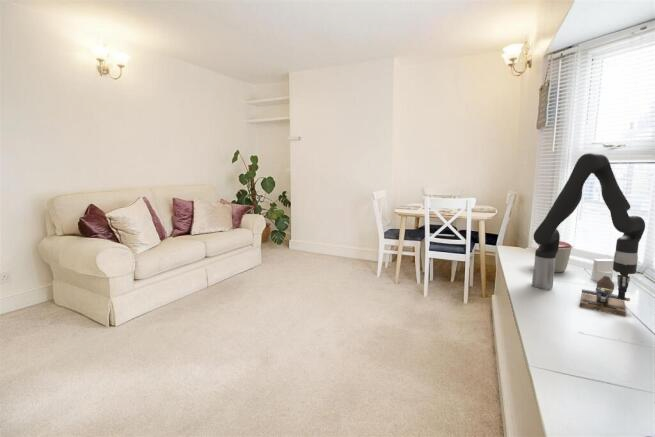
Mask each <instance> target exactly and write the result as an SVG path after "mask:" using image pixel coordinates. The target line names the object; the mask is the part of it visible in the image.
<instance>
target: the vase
mask: <svg viewBox="0 0 655 437" xmlns="http://www.w3.org/2000/svg"><path fill="white" fill-rule="evenodd" d="M598 287H600V288H606V289H609V290H612V291H611V294H612V293H613V292H614V289H615V284H614V282H613V280H612V281H611V279H610V277H608V276H603V278H601V279H600V280H599V281H598V282H597V281H596V288H598Z"/></svg>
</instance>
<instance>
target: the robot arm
mask: <svg viewBox="0 0 655 437" xmlns="http://www.w3.org/2000/svg"><path fill="white" fill-rule="evenodd" d="M574 164H575V165H574V166H573V169H572V171H571V173H570V175H569V177H568V179H567V180H566V182H565V185H564V186H563V188H562V190H561V192H560V193H559V194H558V195H557V198H556V199H555V201H554V202H553V204H552V205H551V208H550V209H549V211H548V213H547V214H546V216H545V218H544V219H542V222H541V223H540V224H539V226H538V227H537V228H536V230H535V231H534V233H533V240H534V242H535V243H536V244H537V245H538V244H539V245H540V246H539V245H538V248H537V249H535V252H534V253H535V254H534V263H533V264H534V266H533V271H532V279H531V280H532V283H531V286H532V287H535V288H537V289H542V290H551V289H553V287H554V280H555V279H554V278H555V277H554V276H555V272H554V268H555V258H556V253H557V252H558V247H559V241H561V240H560V239H561V238H560V237H561V235H560V231H559V230H558V229H557V228H558V227H559V226H560V225H561V224H562V223H563V222H564V221H565V220H566V219H567V218H568V217H570V216H571V215H572V214H573V213H574V211H575V210H576V209H577V208H578V206H579V204H580V202H581V200H582V197H583V188H584V186H585V184H586V181H587V180H588V178H589V177H590V176H591V174H593V175H594V176H595V177H596V179H597V180H598V182H599V184H600V189H601V190H600V191H601V197H602V200H603V201H604V204H605V205H606V207H607V208H608V210H609V212H610V213H609V214H610V218H611V222H612V225H613V227H614V228H615V229H616V230H617V232H620V233H622V236H620V237H618V238H617V239H616V245H615V252H614V255H613V260H614V263H613V272H615V273H619V274H617V276H616V277H617V278H616V279H617V284H616V285H617V290H618V294H617V295H618V299H621V300H622V301H623V300H624V299H625V297H626V293H627V292H628V288H629V284H630V281H631V277H630V275H635V274H637V268H638V262H639V261H638V260H639V256H638V255H639V254H638V253H639V246H640V241H641V239H642V237H643V234H644V232H645V230H646V229H645V228H646V222H645V220H644V219H643V218H642V217H641V216H639V215H629V213H628V211H629V210H630V209H631V205H630V203H629V201H628V199H627V198H626V196H625V194H624V193H623V191H622V189H621V188H620V185H619V183H618V181H617V179H616V177H615V174H614V171H613V169H612V165H611V163H610V161H609V159H608V157H607V156H606V155H605V154H602V153H596V152H595V153H593V152H591V153H589V152H587V153H584V154H582V155H581V156H579V157H578V159H577V161H576V163H574ZM618 299H617V300H618Z"/></svg>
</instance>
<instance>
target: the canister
mask: <svg viewBox="0 0 655 437" xmlns="http://www.w3.org/2000/svg"><path fill="white" fill-rule="evenodd" d="M537 245H538V247H539V246H540V245H539V244H537ZM573 248H574V246H573V245H572V244H570V243H568V242H566V241H562V240H559V247H558V252H557V253H556V258H555V268H554V273H564V272H565V271H566V270H567V268H568V264H569V260H570V257H571V253H572V252H571V251H572V249H573Z"/></svg>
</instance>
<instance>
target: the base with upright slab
mask: <svg viewBox="0 0 655 437" xmlns="http://www.w3.org/2000/svg"><path fill="white" fill-rule="evenodd" d="M613 263H614V259H611V258H594V259H593V264H592V270H591V280H592V281H595V282H596V283H597V282H598V281H599V280H600V279H601V278H603V276H608V277H610V279H611V281H612V282H613V274H614V270H613Z"/></svg>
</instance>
